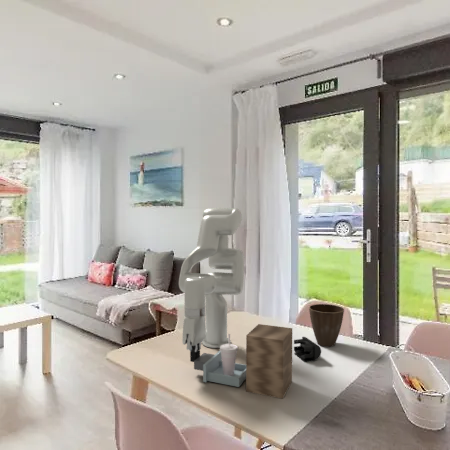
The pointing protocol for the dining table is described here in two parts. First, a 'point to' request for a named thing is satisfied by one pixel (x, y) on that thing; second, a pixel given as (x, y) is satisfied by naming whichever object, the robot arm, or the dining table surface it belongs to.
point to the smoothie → (228, 357)
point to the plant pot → (326, 323)
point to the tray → (219, 370)
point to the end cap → (307, 350)
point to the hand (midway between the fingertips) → (195, 361)
